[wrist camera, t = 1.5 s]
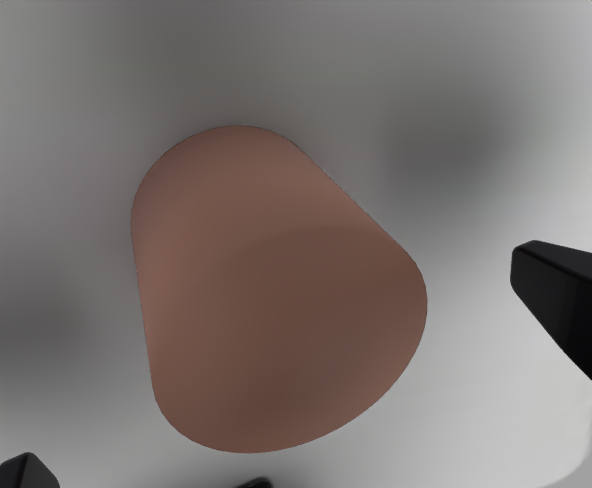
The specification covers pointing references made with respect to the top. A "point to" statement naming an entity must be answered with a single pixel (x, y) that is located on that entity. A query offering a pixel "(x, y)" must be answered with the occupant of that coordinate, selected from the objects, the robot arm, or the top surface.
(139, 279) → the brick cylinder
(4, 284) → the top surface
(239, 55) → the top surface
